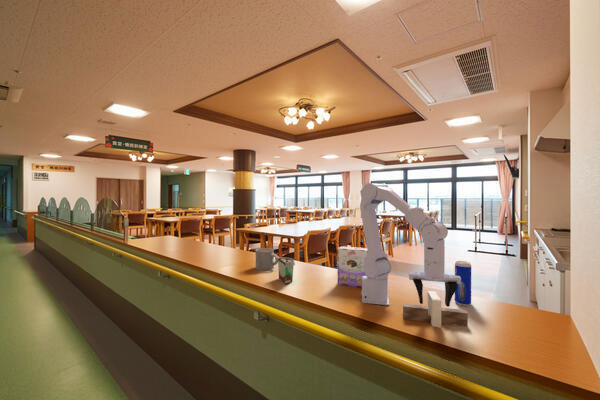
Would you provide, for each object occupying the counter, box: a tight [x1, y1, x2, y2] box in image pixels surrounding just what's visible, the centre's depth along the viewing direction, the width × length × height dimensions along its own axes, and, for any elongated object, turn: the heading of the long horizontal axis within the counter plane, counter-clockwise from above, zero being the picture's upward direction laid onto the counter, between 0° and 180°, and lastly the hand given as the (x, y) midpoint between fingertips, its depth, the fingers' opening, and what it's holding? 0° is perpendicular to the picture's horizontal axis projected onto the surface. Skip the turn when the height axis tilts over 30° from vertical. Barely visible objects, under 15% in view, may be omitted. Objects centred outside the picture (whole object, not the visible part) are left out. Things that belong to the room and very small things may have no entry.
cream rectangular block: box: [427, 290, 442, 328], centre depth 83 cm, size 8×2×8 cm, turn 164°
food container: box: [277, 256, 296, 285], centre depth 123 cm, size 12×6×10 cm, turn 22°
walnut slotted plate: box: [402, 303, 469, 327], centre depth 83 cm, size 18×2×4 cm, turn 74°
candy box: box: [336, 245, 368, 289], centre depth 117 cm, size 14×6×16 cm, turn 63°
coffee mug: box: [255, 247, 279, 271], centre depth 144 cm, size 13×10×10 cm
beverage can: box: [454, 260, 472, 307], centre depth 96 cm, size 5×5×15 cm
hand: (433, 304), depth 83 cm, fingers open, 7 cm apart
